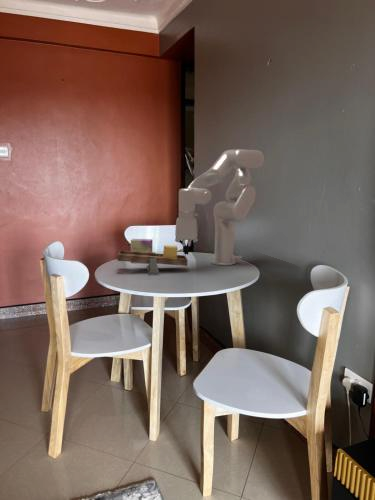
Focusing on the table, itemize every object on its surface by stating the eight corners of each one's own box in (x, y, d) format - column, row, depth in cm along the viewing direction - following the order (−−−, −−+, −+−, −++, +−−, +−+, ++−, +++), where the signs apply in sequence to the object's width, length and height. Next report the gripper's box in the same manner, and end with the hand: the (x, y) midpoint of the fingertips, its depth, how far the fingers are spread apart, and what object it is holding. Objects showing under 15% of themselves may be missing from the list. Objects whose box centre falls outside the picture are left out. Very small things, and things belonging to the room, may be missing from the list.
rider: (175, 258, 182) (176, 246, 181) (176, 260, 177) (177, 247, 176) (162, 257, 181) (164, 245, 180) (163, 259, 176) (164, 246, 175)
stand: (157, 266, 187) (157, 252, 186) (158, 274, 171) (158, 259, 169) (147, 266, 187) (146, 252, 185) (147, 275, 170) (147, 259, 169)
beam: (184, 261, 185) (185, 255, 185) (187, 265, 175) (187, 259, 175) (118, 256, 181) (118, 250, 180) (117, 260, 171) (117, 254, 170)
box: (152, 261, 199) (152, 238, 197) (150, 263, 193) (150, 240, 191) (133, 260, 200) (132, 238, 198) (130, 262, 194) (130, 240, 192)
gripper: (201, 214, 180) (200, 252, 184) (170, 214, 179) (169, 252, 182) (203, 216, 173) (203, 255, 177) (171, 216, 171) (171, 255, 175)
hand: (186, 253), depth 179 cm, fingers closed
